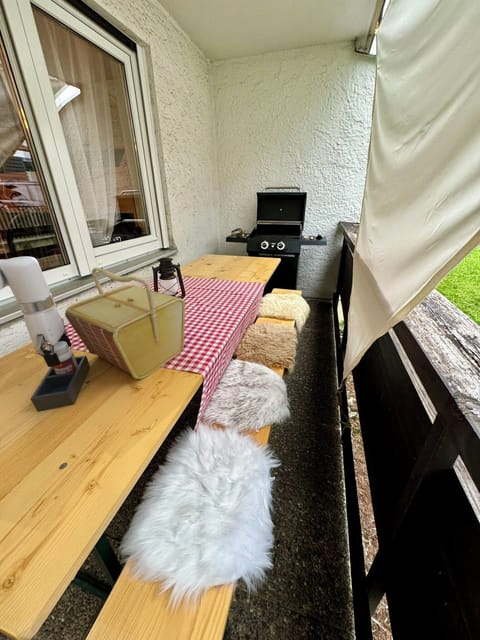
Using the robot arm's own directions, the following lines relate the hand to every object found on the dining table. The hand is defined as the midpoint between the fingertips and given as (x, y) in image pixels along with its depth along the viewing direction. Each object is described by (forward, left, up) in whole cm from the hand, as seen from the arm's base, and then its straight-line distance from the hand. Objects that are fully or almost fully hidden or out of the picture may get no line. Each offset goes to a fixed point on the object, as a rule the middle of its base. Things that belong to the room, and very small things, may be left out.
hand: (60, 355), depth 77 cm
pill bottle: (0, 0, -8) cm, 8 cm away
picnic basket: (+20, +7, -9) cm, 23 cm away
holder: (0, -4, -9) cm, 10 cm away
